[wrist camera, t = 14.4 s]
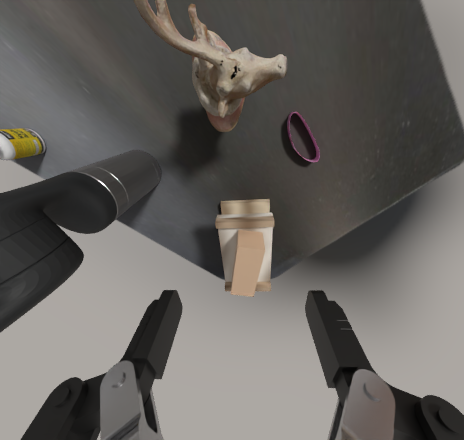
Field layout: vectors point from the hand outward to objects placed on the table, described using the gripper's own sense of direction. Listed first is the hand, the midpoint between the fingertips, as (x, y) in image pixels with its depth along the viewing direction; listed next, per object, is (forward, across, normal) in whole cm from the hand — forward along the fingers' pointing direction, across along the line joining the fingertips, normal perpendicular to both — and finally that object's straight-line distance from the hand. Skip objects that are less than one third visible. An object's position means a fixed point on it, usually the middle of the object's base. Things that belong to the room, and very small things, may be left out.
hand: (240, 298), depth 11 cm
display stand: (+34, 0, +15) cm, 37 cm away
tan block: (+20, 0, +15) cm, 25 cm away
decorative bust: (+34, +1, -13) cm, 37 cm away
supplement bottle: (+34, +47, -8) cm, 59 cm away
